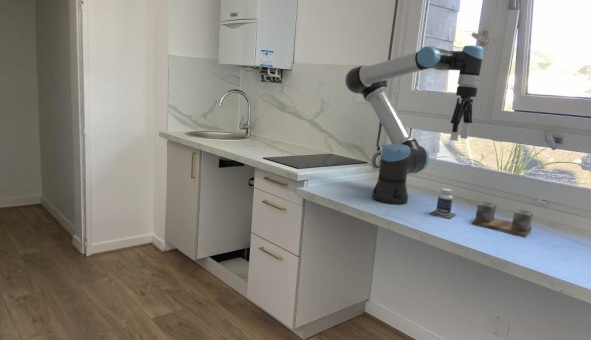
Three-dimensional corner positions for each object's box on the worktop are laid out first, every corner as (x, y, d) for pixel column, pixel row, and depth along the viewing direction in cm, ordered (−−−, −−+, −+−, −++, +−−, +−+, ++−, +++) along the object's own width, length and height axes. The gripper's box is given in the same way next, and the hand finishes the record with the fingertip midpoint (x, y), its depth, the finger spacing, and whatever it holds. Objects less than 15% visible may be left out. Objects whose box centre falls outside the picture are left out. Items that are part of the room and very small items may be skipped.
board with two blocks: (472, 224, 162) (475, 205, 161) (480, 217, 172) (483, 199, 170) (525, 237, 152) (529, 217, 150) (531, 229, 162) (534, 210, 160)
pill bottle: (451, 216, 168) (455, 192, 166) (436, 214, 169) (440, 190, 167) (449, 212, 173) (453, 188, 171) (435, 210, 174) (438, 187, 172)
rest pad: (429, 214, 170) (429, 213, 170) (436, 210, 177) (436, 209, 177) (449, 219, 166) (449, 218, 166) (456, 215, 172) (456, 214, 172)
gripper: (468, 85, 161) (459, 142, 165) (485, 88, 181) (476, 138, 185) (448, 84, 165) (439, 139, 169) (466, 86, 185) (458, 136, 189)
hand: (458, 139), depth 177 cm, fingers open, 13 cm apart
